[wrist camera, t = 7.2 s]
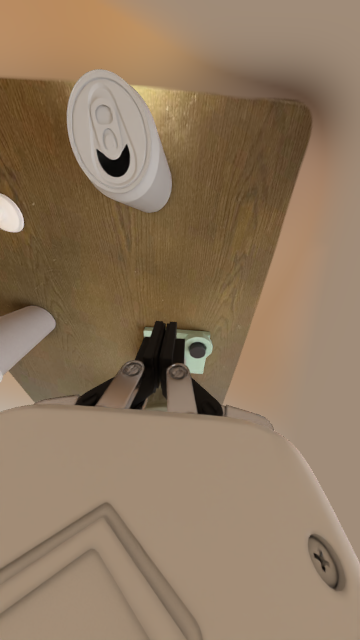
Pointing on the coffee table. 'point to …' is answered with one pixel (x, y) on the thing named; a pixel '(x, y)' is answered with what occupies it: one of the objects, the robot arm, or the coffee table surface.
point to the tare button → (197, 350)
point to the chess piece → (10, 215)
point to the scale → (190, 337)
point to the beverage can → (118, 141)
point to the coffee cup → (22, 334)
